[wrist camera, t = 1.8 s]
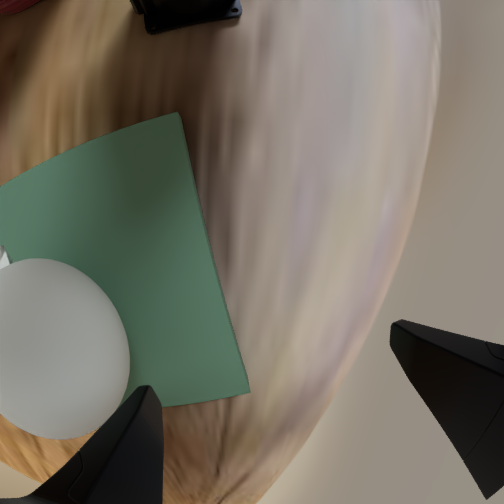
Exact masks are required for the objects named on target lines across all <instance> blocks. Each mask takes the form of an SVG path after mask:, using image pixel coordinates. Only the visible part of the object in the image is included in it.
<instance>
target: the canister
mask: <svg viewBox="0 0 504 504" xmlns="http://www.w3.org/2000/svg"><path fill="white" fill-rule="evenodd" d="M38 1H40V0H0V14H2V15H11V14H15V13H18V12H20V11H22V10H24V9H26V8H28V7H30V6H32V5H33V4H35V3H37V2H38Z"/></svg>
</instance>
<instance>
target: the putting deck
mask: <svg viewBox="0 0 504 504" xmlns="http://www.w3.org/2000/svg"><path fill="white" fill-rule="evenodd" d="M32 258H44V259H52V260H55V261H59V262H62V263H65V264H68V265H70V266H72V267H74V268H76V269H78V270H79V271H81V272H83V273H84V274H85V275H87V276H88V277H89V278H91V279H92V280H93V281H94V282H95V283H96V284H97V285H98V286H99V287H100V288H101V289H102V290H103V291H104V292H105V294H106V295H107V296H108V298H109V299H110V300H111V302H112V303H113V305H114V307H115V308H116V310H117V312H118V314H119V316H120V318H121V321H122V324H123V326H124V329H125V332H126V335H127V339H128V345H129V353H130V373H129V378H128V383H127V388H126V391H125V393H124V396H123V398H122V401H121V403H120V404H119V406H120V405H121V404H122V403H123V402H124V401H125V400H126V399H127V398H128V397H129V396H130V395H131V394H132V392H133V391H134V390H135V389H136V388H137V387H138V386H141V385H151V386H152V388H153V389H154V391H155V393H156V395H157V396H158V398H159V400H160V402H161V405H162V407H169V406H177V405H185V404H192V403H198V402H205V401H211V400H216V399H222V398H227V397H232V396H237V395H241V394H246V393H251V392H250V387H249V382H248V377H247V373H246V370H245V367H244V363H243V360H242V357H241V354H240V350H239V347H238V343H237V340H236V337H235V333H234V330H233V326H232V323H231V319H230V316H229V312H228V309H227V305H226V302H225V298H224V294H223V291H222V287H221V284H220V280H219V276H218V272H217V269H216V265H215V261H214V257H213V253H212V249H211V246H210V242H209V238H208V234H207V230H206V226H205V222H204V218H203V213H202V209H201V205H200V201H199V197H198V192H197V188H196V184H195V180H194V175H193V171H192V166H191V162H190V157H189V153H188V148H187V143H186V139H185V134H184V129H183V124H182V119H181V117H180V115H179V114H178V112H174V113H171V114H167V115H163V116H160V117H156V118H153V119H150V120H146V121H143V122H140V123H137V124H134V125H131V126H128V127H125V128H122V129H119V130H117V131H114V132H111V133H109V134H106V135H103V136H101V137H98V138H96V139H93V140H91V141H88V142H86V143H84V144H81V145H79V146H77V147H74V148H72V149H70V150H68V151H65V152H63V153H61V154H59V155H57V156H55V157H53V158H51V159H49V160H47V161H45V162H43V163H41V164H39V165H37V166H35V167H33V168H31V169H30V170H28V171H26V172H24V173H22V174H21V175H19V176H17V177H15V178H14V179H12V180H10V181H9V182H7V183H5V184H4V185H2V186H0V270H1V269H2V268H4V267H6V266H8V265H10V264H12V263H14V262H17V261H21V260H25V259H32ZM119 406H118V407H117V409H118V408H119ZM117 409H116V410H117Z"/></svg>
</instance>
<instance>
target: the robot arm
mask: <svg viewBox="0 0 504 504" xmlns="http://www.w3.org/2000/svg"><path fill="white" fill-rule="evenodd" d="M130 2H131V4H132V6H133V8H134V10H135V12H136V14H138V15H141V14H144V22H145V29H146V31H147V33H148V34H150V35H153V34H157V33H161V32H165V31H169V30H173V29H177V28H181V27H185V26H190V25H195V24H200V23H206V22H212V21H218V20H225V19H233V18H238V17H240V16H241V14H242V7H241V4H240V0H130ZM233 10H234V11H237V13H233V12H231V11H233ZM153 26H156V28H155V29H150V28H151V27H153ZM390 347H391V349H392V351H393V352H394V354H395V356H396V358H397V359H398V361H399V363H400V365H401V367H402V368H403V370H404V372H405V374H406V376H407V377H408V379H409V381H410V382H411V383H412V385H413V386H414V388H415V389H416V391H417V392H418V393H419V395H420V396H421V398H422V399H423V400H424V402H425V403H426V405H427V406H428V407H429V409H430V411H431V412H432V414H433V415H434V416H435V418H436V420H437V421H438V423H439V424H440V425H441V427H442V428H443V430H444V431H445V433H446V435H447V436H448V438H449V439H450V441H451V442H452V444H453V445H454V447H455V449H456V450H457V452H458V453H459V455H460V456H461V458H462V460H464V463H465V465H466V467H467V468H468V470H469V472H470V473H471V475H472V476H473V478H474V480H475V482H476V483H477V485H478V487H479V489H480V490H481V492H482V494H483V495H484V497H485V498H486V500H487V499H488V498H489V497H491V496H492V495H493V494H495V493H496V492H497V491H498V490H499V489H500V488H502V487H503V486H504V345H500V344H496V343H491V342H487V341H486V342H485V341H483V340H479V339H475V338H471V337H467V336H463V335H460V334H455V333H452V332H448V331H444V330H440V329H436V328H432V327H429V326H425V325H421V324H418V323H414V322H410V321H406V320H403V319H401V320H398V321H396V322H393V323H392V325H391V330H390ZM163 457H164V436H163V420H162V405H161V402H160V400H159V398H158V396H157V395H156V393H155V391H154V389H153V388H152V386H151V385H141V386H138V387H137V388H136V389H135V390H134V391H133V392H132V394H131V395H130V396H129V397H128V398H127V399H126V400H125V401H124V402H123V403H122V404H121V405H120V406H119V408H118V409H117V410H116V411H115V412H114V413H113V414H112V415H111V416H110V417H109V418H108V419H107V420H106V422H105V423H104V424H103V425H102V426H101V427H100V428H99V429H98V430H97V431H96V432H95V433H94V434H93V436H92V437H91V438H90V439H89V440H88V441H87V442H86V443H85V444H84V445H83V446H82V447H81V448H80V451H77V453H76V454H75V455H74V456H73V457H72V458H71V459H70V460H69V461H68V462H67V463H66V464H65V465H64V466H63V467H62V468H61V469H60V470H58V471H57V472H56V473H55V474H54V475H53V476H52V477H50V478H49V479H48V480H47V481H46V482H44V483H43V484H42V485H41V486H40V487H38V489H36V490H35V491H34V492H32V493H31V494H29V495H27V496H24V497H21V498H6V499H5V498H2V499H0V504H162V501H163Z"/></svg>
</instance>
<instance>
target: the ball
mask: <svg viewBox="0 0 504 504" xmlns="http://www.w3.org/2000/svg"><path fill="white" fill-rule="evenodd" d="M129 373H130V353H129V345H128V339H127V335H126V332H125V329H124V326H123V324H122V321H121V318H120V316H119V314H118V312H117V310H116V308H115V307H114V305H113V303H112V302H111V300H110V299H109V298H108V296H107V295H106V294H105V292H104V291H103V290H102V289H101V288H100V287H99V286H98V285H97V284H96V283H95V282H94V281H93V280H92V279H91V278H89V277H88V276H87V275H85V274H84V273H83V272H81V271H79V270H78V269H76V268H74V267H72V266H70V265H68V264H65V263H62V262H59V261H55V260H52V259H44V258H32V259H25V260H21V261H17V262H14V263H12V264H10V265H8V266H6V267H4V268H2V269H1V270H0V414H1V415H2V416H3V417H5V418H6V419H7V420H8V421H9V422H11V423H12V424H14V425H15V426H17V427H18V428H20V429H22V430H24V431H26V432H28V433H30V434H33V435H36V436H39V437H43V438H48V439H58V440H64V439H72V438H77V437H81V436H84V435H86V434H88V433H91V432H93V431H94V430H96V429H97V428H99V427H100V426H102V425H103V424H104V423H105V422H106V420H107V419H108V418H109V417H110V416H111V415H112V414H113V413H114V412H115V411H116V409H117V407H118V406H119V404H120V403H121V401H122V398H123V396H124V393H125V391H126V388H127V383H128V378H129Z"/></svg>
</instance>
